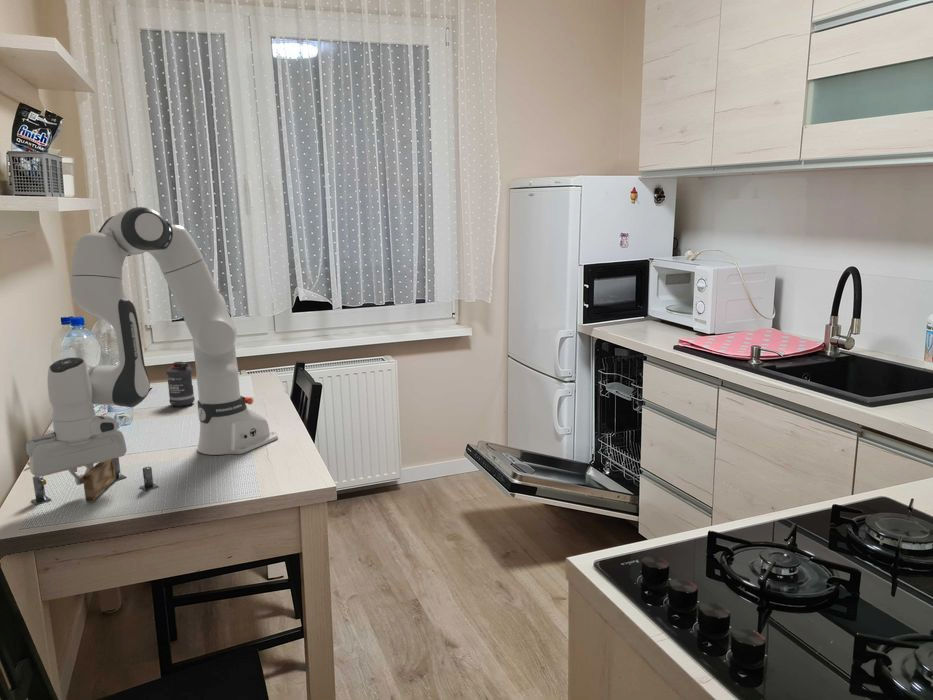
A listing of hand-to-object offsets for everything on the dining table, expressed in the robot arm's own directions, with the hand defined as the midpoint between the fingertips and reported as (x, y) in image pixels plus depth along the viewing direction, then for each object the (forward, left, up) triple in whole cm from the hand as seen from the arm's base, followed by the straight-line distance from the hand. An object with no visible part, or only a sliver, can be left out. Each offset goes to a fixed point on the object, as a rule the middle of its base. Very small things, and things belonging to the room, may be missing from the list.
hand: (83, 483), depth 165 cm
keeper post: (-12, +8, -3) cm, 15 cm away
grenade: (-54, -54, -3) cm, 77 cm away
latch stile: (+8, -5, -3) cm, 10 cm away
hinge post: (-9, -5, -3) cm, 11 cm away
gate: (-3, +1, -2) cm, 4 cm away
